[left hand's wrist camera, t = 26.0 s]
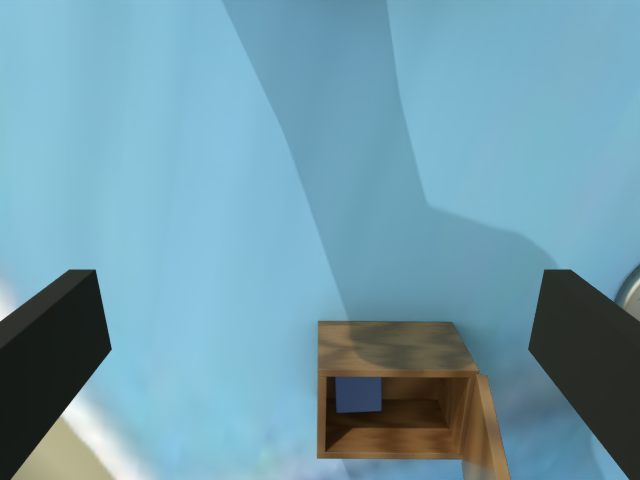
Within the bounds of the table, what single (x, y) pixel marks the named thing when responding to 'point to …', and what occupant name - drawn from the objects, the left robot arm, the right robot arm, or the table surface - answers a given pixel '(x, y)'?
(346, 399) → the block
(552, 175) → the table surface
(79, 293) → the left robot arm
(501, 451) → the lid
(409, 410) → the chest
